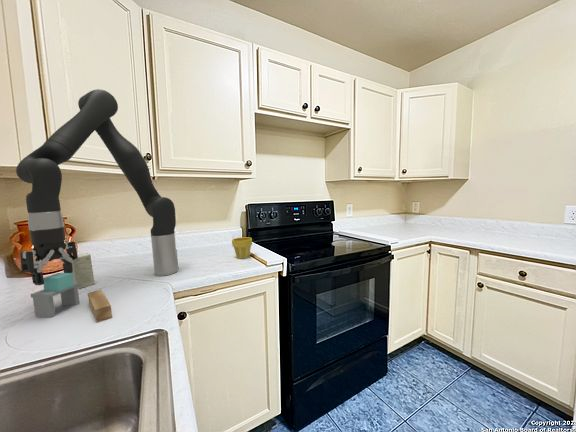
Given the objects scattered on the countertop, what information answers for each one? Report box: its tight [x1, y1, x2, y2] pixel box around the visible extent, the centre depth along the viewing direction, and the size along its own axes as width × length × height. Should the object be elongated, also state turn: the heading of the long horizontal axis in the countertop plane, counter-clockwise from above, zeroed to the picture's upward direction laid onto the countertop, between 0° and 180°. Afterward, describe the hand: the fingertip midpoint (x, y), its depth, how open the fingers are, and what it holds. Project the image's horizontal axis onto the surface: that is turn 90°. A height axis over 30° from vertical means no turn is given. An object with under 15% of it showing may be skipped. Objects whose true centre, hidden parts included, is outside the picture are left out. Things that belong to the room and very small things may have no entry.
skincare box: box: [72, 252, 95, 289], centre depth 95 cm, size 6×4×12 cm
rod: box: [87, 289, 113, 323], centre depth 75 cm, size 4×17×4 cm, turn 45°
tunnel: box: [30, 283, 80, 318], centre depth 76 cm, size 9×6×7 cm
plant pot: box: [231, 236, 253, 260], centre depth 129 cm, size 10×10×10 cm
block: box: [42, 272, 74, 291], centre depth 75 cm, size 4×5×4 cm
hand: (54, 279), depth 75 cm, fingers open, 8 cm apart
